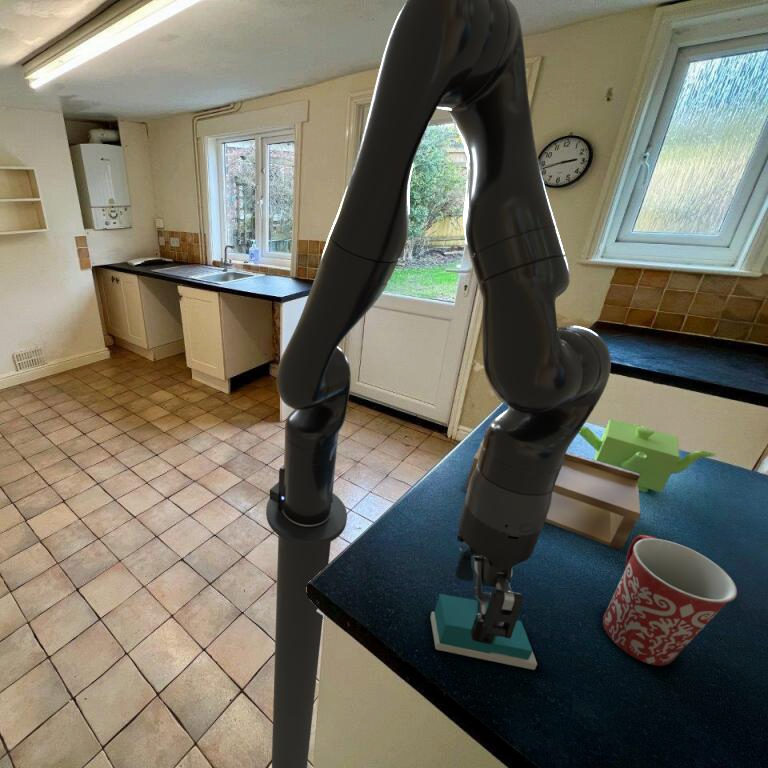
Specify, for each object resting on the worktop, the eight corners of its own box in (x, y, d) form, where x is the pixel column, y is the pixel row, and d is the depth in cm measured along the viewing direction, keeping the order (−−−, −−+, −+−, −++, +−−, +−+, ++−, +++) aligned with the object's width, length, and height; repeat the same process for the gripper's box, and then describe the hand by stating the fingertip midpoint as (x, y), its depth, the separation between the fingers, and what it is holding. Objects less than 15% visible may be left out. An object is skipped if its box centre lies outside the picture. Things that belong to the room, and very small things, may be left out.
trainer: (435, 649, 54) (443, 624, 51) (430, 616, 58) (436, 592, 55) (534, 670, 51) (547, 645, 49) (522, 634, 55) (532, 610, 53)
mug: (698, 687, 49) (757, 613, 44) (606, 657, 53) (649, 584, 47) (655, 599, 60) (698, 530, 54) (580, 578, 63) (613, 511, 57)
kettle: (693, 497, 79) (721, 449, 74) (626, 504, 78) (650, 455, 73) (622, 452, 93) (643, 408, 88) (564, 456, 91) (581, 412, 86)
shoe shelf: (464, 491, 81) (475, 453, 77) (477, 464, 89) (487, 428, 85) (621, 550, 68) (643, 508, 64) (620, 512, 76) (639, 473, 72)
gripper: (453, 464, 52) (431, 557, 59) (483, 552, 40) (451, 657, 46) (519, 471, 51) (488, 566, 57) (572, 565, 38) (525, 672, 45)
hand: (471, 606), depth 52 cm, fingers open, 8 cm apart
